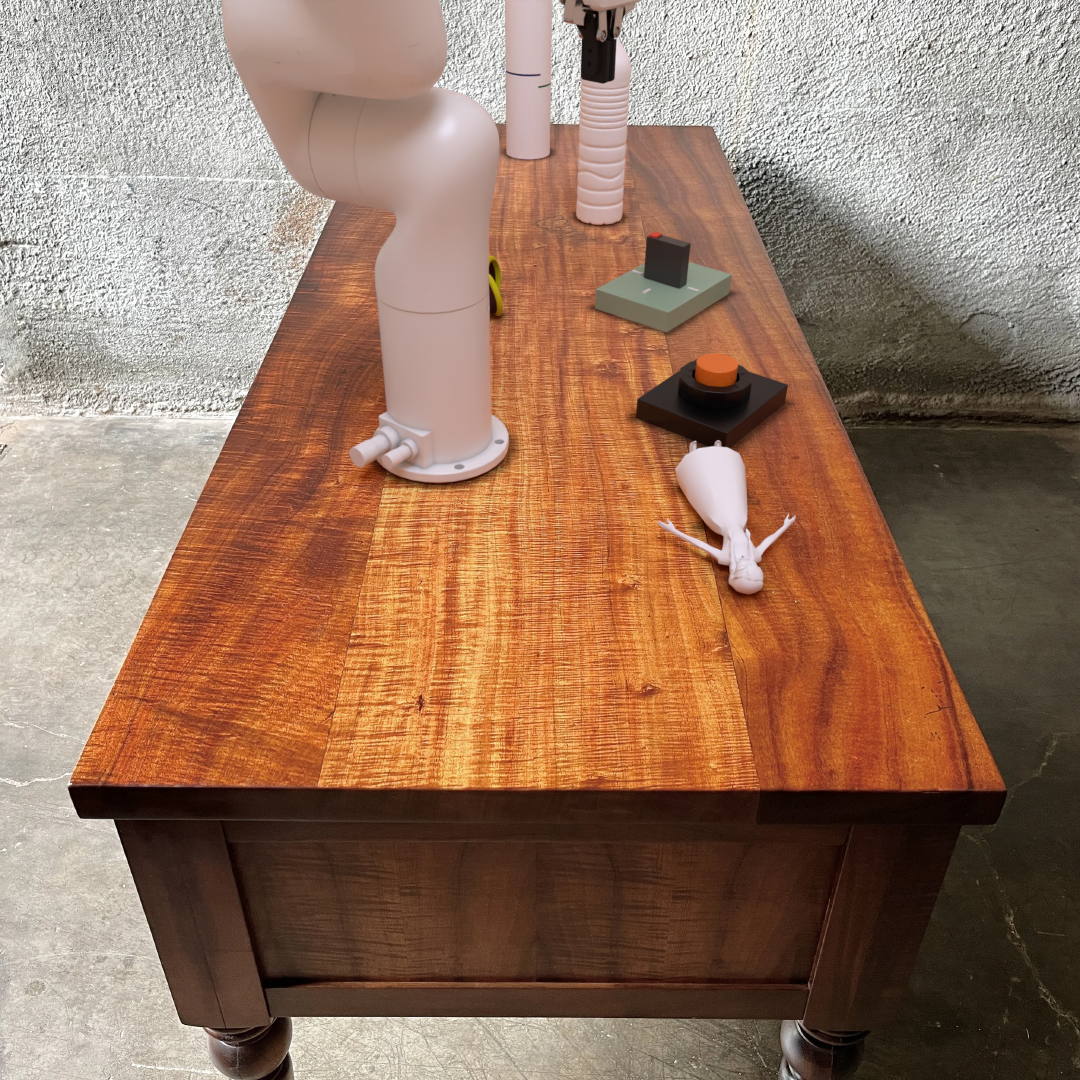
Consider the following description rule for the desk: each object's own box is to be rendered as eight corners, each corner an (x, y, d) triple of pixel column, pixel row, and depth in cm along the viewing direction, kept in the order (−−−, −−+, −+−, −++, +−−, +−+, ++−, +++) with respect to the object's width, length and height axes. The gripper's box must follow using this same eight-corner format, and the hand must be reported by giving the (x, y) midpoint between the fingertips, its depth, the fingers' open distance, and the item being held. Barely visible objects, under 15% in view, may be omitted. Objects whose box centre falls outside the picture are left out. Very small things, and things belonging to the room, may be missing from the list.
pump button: (722, 392, 98) (724, 376, 97) (686, 380, 100) (688, 363, 99) (743, 377, 101) (746, 361, 100) (708, 365, 103) (710, 349, 102)
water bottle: (620, 227, 143) (632, 28, 128) (573, 224, 144) (579, 26, 129) (625, 205, 150) (636, 15, 135) (580, 203, 151) (587, 13, 136)
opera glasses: (462, 295, 126) (452, 256, 123) (504, 286, 126) (495, 247, 123) (461, 330, 119) (451, 290, 116) (506, 321, 118) (497, 280, 115)
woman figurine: (772, 427, 91) (832, 564, 78) (764, 468, 94) (820, 607, 81) (641, 431, 91) (679, 571, 77) (637, 472, 93) (673, 613, 80)
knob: (686, 284, 121) (691, 240, 118) (679, 288, 120) (683, 244, 117) (651, 273, 124) (654, 230, 121) (643, 277, 123) (646, 234, 120)
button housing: (724, 453, 97) (729, 415, 94) (635, 418, 102) (638, 382, 99) (785, 404, 104) (791, 368, 102) (699, 373, 109) (703, 339, 107)
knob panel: (666, 333, 117) (668, 311, 115) (594, 309, 122) (595, 287, 120) (729, 293, 126) (732, 272, 124) (660, 272, 131) (661, 252, 129)
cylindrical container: (501, 148, 172) (499, -22, 157) (542, 144, 173) (544, -24, 158) (513, 160, 166) (512, -14, 151) (555, 157, 168) (558, -16, 153)
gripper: (591, -123, 90) (583, 101, 101) (683, -133, 99) (667, 73, 110) (524, -129, 93) (523, 88, 104) (619, -138, 103) (609, 62, 114)
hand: (597, 79), depth 107 cm, fingers closed
